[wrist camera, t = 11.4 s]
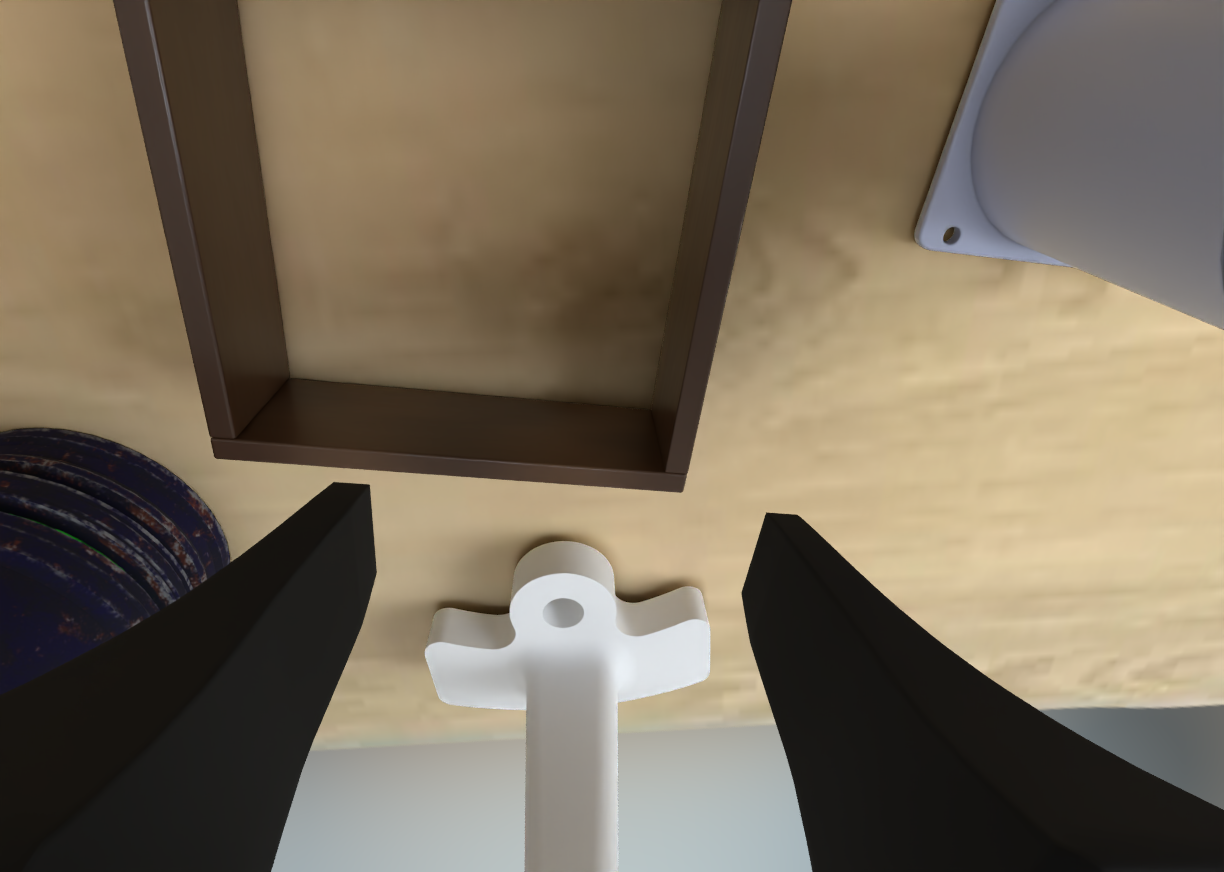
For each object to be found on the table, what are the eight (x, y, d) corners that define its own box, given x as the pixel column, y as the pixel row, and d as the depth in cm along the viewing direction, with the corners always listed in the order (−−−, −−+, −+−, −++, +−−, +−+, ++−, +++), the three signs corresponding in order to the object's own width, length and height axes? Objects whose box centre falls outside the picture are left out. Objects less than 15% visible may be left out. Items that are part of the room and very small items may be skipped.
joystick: (454, 675, 29) (276, 1597, 12) (415, 546, 25) (62, 1644, 8) (700, 653, 29) (888, 1535, 12) (700, 521, 25) (981, 1552, 8)
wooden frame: (756, -34, 16) (806, -60, 13) (666, 427, 23) (683, 494, 19) (187, -128, 15) (69, -186, 11) (271, 394, 21) (213, 459, 18)
